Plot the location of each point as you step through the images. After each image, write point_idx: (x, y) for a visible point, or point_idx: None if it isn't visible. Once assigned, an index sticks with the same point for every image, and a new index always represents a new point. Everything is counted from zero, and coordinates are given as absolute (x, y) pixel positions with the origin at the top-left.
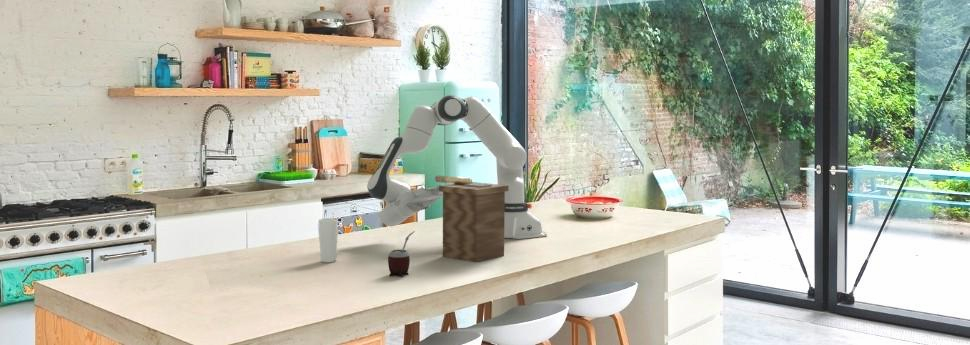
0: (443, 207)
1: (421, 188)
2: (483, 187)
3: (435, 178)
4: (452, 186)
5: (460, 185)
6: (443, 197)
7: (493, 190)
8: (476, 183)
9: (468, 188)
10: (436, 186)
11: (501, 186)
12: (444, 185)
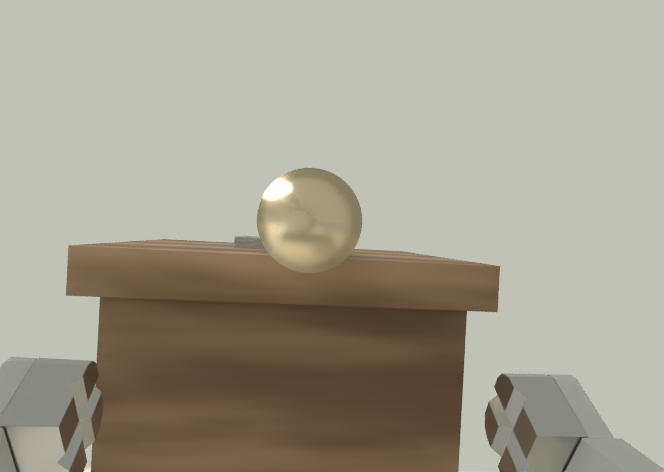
0: (457, 435)
1: (580, 408)
2: None
3: (360, 216)
4: (428, 258)
5: None
6: (462, 355)
7: None
8: (253, 237)
9: (406, 253)
10: (57, 427)
11: (221, 242)
12: (446, 263)
